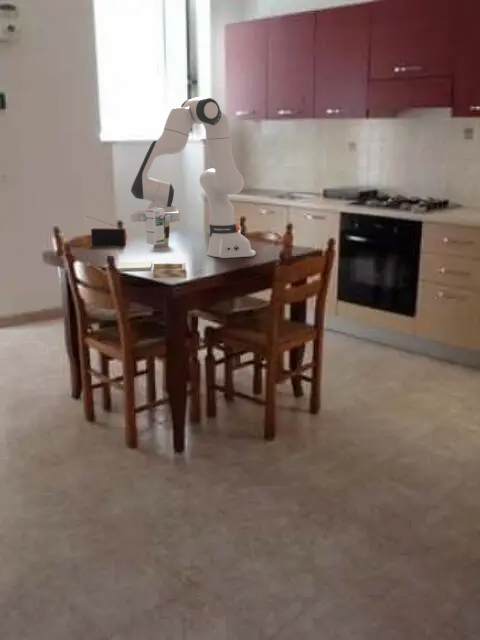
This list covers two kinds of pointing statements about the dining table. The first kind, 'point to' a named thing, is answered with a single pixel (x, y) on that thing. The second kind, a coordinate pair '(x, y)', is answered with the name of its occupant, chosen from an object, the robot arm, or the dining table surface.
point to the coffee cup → (166, 236)
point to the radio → (108, 236)
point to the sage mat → (135, 265)
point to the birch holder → (169, 270)
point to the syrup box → (155, 226)
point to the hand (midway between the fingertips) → (155, 218)
